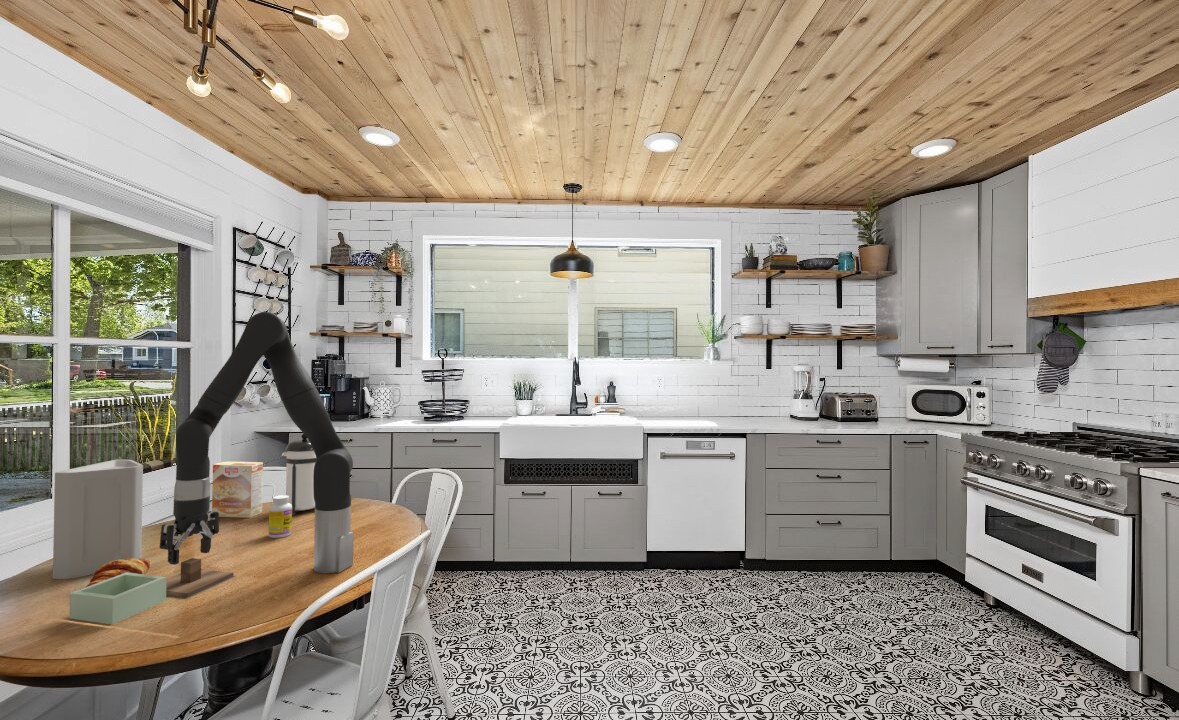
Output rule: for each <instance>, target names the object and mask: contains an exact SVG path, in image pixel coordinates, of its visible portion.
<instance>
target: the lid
mask: <svg viewBox="0 0 1179 720" xmlns="http://www.w3.org/2000/svg"><path fill="white" fill-rule="evenodd" d="M233 576H235V575H234V572H232V571H231V572H229V571H221V570H220V571H219V570H213V569H212V570H211V569H203V568H202V558H194V557H191V558H189V559H187V560H184V561H181V562H180V573H178V574H176V575H173V576H171V577H167V580H166V595H173V596H181V597H190V596H192V595H194V594H196V593H199V592H201V591H203V590H205V589H207V588H209V587H212V586H214V585H216V584H218V583H220V582H223V581H225V580H227V579H229V578H231V577H233ZM231 579H232V578H231ZM229 580H230V579H229ZM227 581H228V580H227ZM225 582H226V581H225ZM223 583H224V582H223ZM218 585H219V584H218ZM216 586H217V585H216ZM214 587H215V586H214ZM212 588H213V587H212ZM205 591H206V590H205ZM203 592H204V591H203ZM201 593H202V592H201ZM199 594H200V593H199ZM192 597H193V596H192ZM190 598H191V597H190Z"/></svg>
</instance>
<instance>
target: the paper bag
mask: <svg viewBox="0 0 1179 720" xmlns="http://www.w3.org/2000/svg"><path fill="white" fill-rule="evenodd" d="M143 470H144V465H143V464H141V463H139V462H137V461H135V460H132V459H112V460H108V461H102V462H97V463H92V464H87V465H83V466H78V467H74V468H69V469H64V470H60V471H59V470H58V471H55V472H54V493H53V494H54V500H53V504H54V505H53V508H54V509H53V545H52V546H53V547H52V548H53V549H52V551H53V553H52V554H53V558H52V559H53V560H52V561H53V562H52V579H53V580H54V579H58V580H59V579H61V580H62V579H63V580H64V579H65V580H66V579H67V580H68V579H75V578H79V577H80V578H81V577H84V576H85V575H86V576H91V575H90V574H92V575H94V573H95V571H96V570H97V569H99V568H100V567H101V566H102V565H104V564H106V563H109V562H111V561H115V560H124V559H127V558H134V559H139V558H142V547H143V546H142V542H143V541H142V538H143V537H142V535H143V532H142V531H143V528H142V527H143V488H144V487H143V484H144V483H143V477H144V471H143Z"/></svg>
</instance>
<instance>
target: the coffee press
mask: <svg viewBox="0 0 1179 720" xmlns="http://www.w3.org/2000/svg"><path fill="white" fill-rule="evenodd" d="M301 438H302V439H296V440H292V441H290V442H289V443H288V444H287V446H286V447H285V450H284V451H283V452H282V454H281V457H285V463H286V467H285V471H286V473H285V476H286V477H285V478H286V479H285V495H287V496H289V501H288V503H290V504H291V505H292V517H294V516H296V513H297V512H299V511H306V510H307V511H308V510H312V509H314V510H315V501H314V489H313V474H314V466H315V463H316V461H317V458H316V455H315V452H314V450H313V448H312V445H311V443H310V442H309V440H308V438H307V437H306V436H305V435H304V433H302V434H301Z"/></svg>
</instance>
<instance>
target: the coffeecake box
mask: <svg viewBox="0 0 1179 720" xmlns="http://www.w3.org/2000/svg"><path fill="white" fill-rule="evenodd" d="M263 475H264V462H261V461H259V462H258V461H232V460H231V461H229V460H228V461H227V460H225V461H222V462H217V463H213V464H212V490H211V491H212V493H211V511H214V512H218V513H219V518H245V519H247V518H249V519H251V518H253V517H255V516H257V515H258V516H259V515H260V514H262V513H263V493H264V492H263V491H264V490H263V488H264V487H263V485H264V484H263V483H264V480H263Z"/></svg>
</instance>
